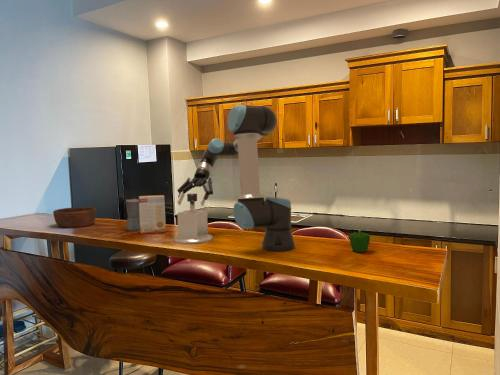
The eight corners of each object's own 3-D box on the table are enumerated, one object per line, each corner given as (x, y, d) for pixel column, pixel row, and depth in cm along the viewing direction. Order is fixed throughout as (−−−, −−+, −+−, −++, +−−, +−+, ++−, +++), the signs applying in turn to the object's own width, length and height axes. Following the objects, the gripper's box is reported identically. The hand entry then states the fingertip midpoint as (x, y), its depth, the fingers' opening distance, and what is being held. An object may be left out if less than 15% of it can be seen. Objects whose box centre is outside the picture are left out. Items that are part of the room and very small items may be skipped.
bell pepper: (354, 248, 167) (354, 226, 166) (372, 250, 161) (372, 228, 161) (346, 251, 160) (346, 229, 159) (364, 254, 155) (364, 231, 154)
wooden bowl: (75, 221, 251) (74, 206, 251) (105, 222, 244) (104, 207, 243) (44, 228, 228) (43, 211, 227) (76, 229, 220) (76, 212, 219)
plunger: (204, 235, 191) (203, 193, 189) (196, 238, 183) (195, 194, 182) (190, 234, 194) (188, 193, 192) (181, 237, 186) (180, 194, 184)
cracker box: (165, 230, 213) (164, 194, 212) (165, 232, 208) (164, 195, 206) (140, 232, 210) (139, 195, 208) (140, 234, 204) (138, 196, 202)
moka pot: (141, 231, 212) (140, 197, 210) (117, 230, 215) (115, 196, 213) (149, 228, 221) (147, 195, 219) (125, 227, 224) (124, 195, 222)
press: (219, 236, 195) (218, 209, 194) (201, 245, 176) (200, 215, 175) (185, 234, 202) (185, 208, 200) (165, 242, 183) (164, 213, 182)
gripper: (226, 177, 196) (214, 209, 183) (185, 177, 205) (171, 207, 192) (221, 167, 191) (209, 199, 178) (180, 167, 200) (165, 198, 187)
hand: (189, 203), depth 185 cm, fingers open, 12 cm apart
